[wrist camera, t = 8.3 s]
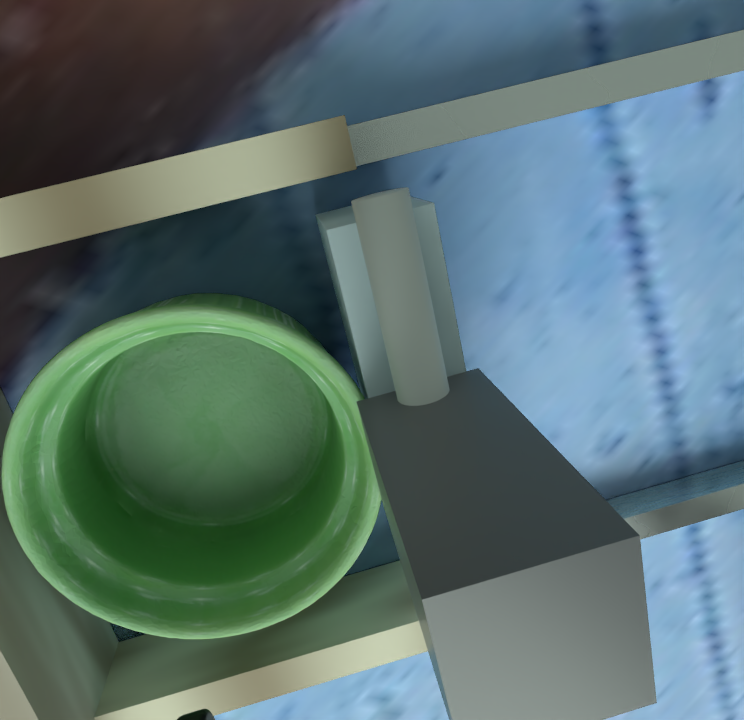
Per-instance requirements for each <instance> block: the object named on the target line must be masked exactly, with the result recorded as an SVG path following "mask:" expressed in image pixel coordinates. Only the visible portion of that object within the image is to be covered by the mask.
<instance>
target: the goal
mask: <svg viewBox="0 0 744 720" xmlns="http://www.w3.org/2000/svg"><path fill="white" fill-rule="evenodd" d="M743 70H744V30H741V31H737V32H733V33H728V34H724V35H720V36H716V37H712V38H708V39H704V40H700V41H695V42H691V43H687V44H683V45H679V46H675V47H671V48H667V49H663V50H658V51H654V52H650V53H646V54H642V55H638V56H634V57H630V58H625V59H621V60H617V61H613V62H609V63H605V64H601V65H597V66H593V67H588V68H584V69H580V70H576V71H572V72H568V73H564V74H560V75H555V76H551V77H547V78H543V79H539V80H535V81H531V82H527V83H523V84H518V85H514V86H510V87H506V88H502V89H498V90H494V91H490V92H485V93H481V94H477V95H473V96H469V97H465V98H461V99H457V100H453V101H448V102H444V103H440V104H436V105H432V106H428V107H424V108H420V109H415V110H411V111H407V112H403V113H399V114H395V115H391V116H387V117H383V118H378V119H374V120H370V121H366V122H362V123H358V124H354V125H350V126H347V124H346V119H345V115H343V116H339V117H335V118H331V119H326V120H322V121H318V122H314V123H310V124H306V125H302V126H297V127H293V128H289V129H285V130H281V131H277V132H273V133H268V134H264V135H260V136H256V137H252V138H248V139H244V140H239V141H235V142H231V143H227V144H223V145H219V146H215V147H211V148H206V149H202V150H198V151H194V152H190V153H186V154H182V155H177V156H173V157H169V158H165V159H161V160H157V161H153V162H148V163H144V164H140V165H136V166H132V167H128V168H124V169H119V170H115V171H111V172H107V173H103V174H99V175H95V176H90V177H86V178H82V179H78V180H74V181H70V182H66V183H62V184H57V185H53V186H49V187H45V188H41V189H37V190H33V191H28V192H24V193H20V194H16V195H12V196H8V197H4V198H0V257H4V256H8V255H12V254H17V253H21V252H25V251H29V250H33V249H37V248H41V247H45V246H49V245H53V244H57V243H61V242H65V241H69V240H73V239H77V238H81V237H85V236H89V235H93V234H97V233H101V232H105V231H109V230H113V229H117V228H121V227H126V226H130V225H134V224H138V223H142V222H146V221H150V220H154V219H158V218H162V217H166V216H170V215H174V214H178V213H182V212H186V211H190V210H194V209H198V208H202V207H206V206H210V205H214V204H218V203H222V202H226V201H230V200H235V199H239V198H243V197H247V196H251V195H255V194H259V193H263V192H267V191H271V190H275V189H279V188H283V187H287V186H291V185H295V184H299V183H303V182H307V181H311V180H315V179H319V178H323V177H327V176H331V175H335V174H339V173H344V172H348V171H352V170H356V169H357V167H356V166H359V165H363V164H367V163H371V162H375V161H379V160H383V159H387V158H391V157H395V156H399V155H404V154H408V153H412V152H416V151H420V150H424V149H428V148H432V147H436V146H440V145H444V144H448V143H452V142H456V141H460V140H464V139H468V138H472V137H476V136H480V135H484V134H488V133H492V132H497V131H501V130H505V129H509V128H513V127H517V126H521V125H525V124H529V123H533V122H537V121H541V120H545V119H549V118H553V117H557V116H561V115H565V114H569V113H573V112H577V111H581V110H585V109H589V108H594V107H598V106H602V105H606V104H610V103H614V102H618V101H622V100H626V99H630V98H634V97H638V96H642V95H646V94H650V93H654V92H658V91H662V90H666V89H670V88H674V87H678V86H682V85H686V84H691V83H695V82H699V81H703V80H707V79H711V78H715V77H719V76H723V75H727V74H731V73H735V72H739V71H743ZM12 416H13V414H12V411H11V409H10V407H9V405H8V403H7V401H6V399H5V396H4V394H3V392H2V390H1V388H0V720H177V719H178V718H179V717H180V716H182V715H184V714H188V713H191V712H194V711H198V710H201V709H208V710H210V712H211V713H212V714H213V716H214V715H218V714H221V713H224V712H228V711H231V710H234V709H238V708H241V707H244V706H247V705H251V704H254V703H257V702H261V701H264V700H267V699H271V698H274V697H277V696H281V695H284V694H287V693H291V692H294V691H297V690H301V689H304V688H307V687H310V686H314V685H317V684H320V683H324V682H327V681H330V680H334V679H337V678H340V677H344V676H347V675H350V674H354V673H357V672H360V671H364V670H367V669H370V668H374V667H377V666H380V665H383V664H387V663H390V662H393V661H397V660H400V659H403V658H407V657H410V656H413V655H417V654H420V653H423V652H427V651H428V649H427V646H426V643H425V639H424V636H423V633H422V630H421V626H420V623H419V620H418V617H417V613H416V610H415V607H414V604H413V600H412V597H411V594H410V591H409V587H408V584H407V581H406V578H405V575H404V571H403V568H402V565H401V562H400V560H399V561H396V562H392V563H389V564H386V565H382V566H379V567H375V568H372V569H368V570H365V571H362V572H358V573H355V574H351V575H348V576H344V577H342V578H341V579H340V580H339V581H338V582H337V583H336V584H335V585H334V586H333V587H332V588H331V589H330V590H329V591H328V592H327V593H325V594H324V595H323V596H322V597H320V598H319V599H318V600H317V601H315V602H314V603H312V604H311V605H310V606H308V607H307V608H305V609H303V610H302V611H300V612H298V613H297V614H295V615H293V616H291V617H289V618H287V619H285V620H283V621H280V622H278V623H275V624H273V625H270V626H268V627H265V628H262V629H260V630H256V631H252V632H248V633H244V634H240V635H235V636H229V637H222V638H213V639H179V638H167V637H161V636H155V635H150V634H145V635H141V636H138V637H135V638H131V639H128V640H124V641H121V642H118V639H117V637H116V635H115V633H114V631H113V629H112V627H111V624H110V622H108V621H106V620H104V619H102V618H100V617H98V616H95V615H93V614H91V613H90V612H88V611H86V610H85V609H83V608H81V607H80V606H78V605H76V604H75V603H73V602H72V601H71V600H69V599H68V598H67V597H65V596H64V595H63V594H62V593H60V592H59V591H58V590H57V589H56V588H54V587H53V586H52V585H51V584H50V583H49V582H48V581H47V580H46V579H45V578H44V577H43V576H42V575H41V574H40V573H39V572H38V571H37V569H36V568H35V566H34V565H33V564H32V562H31V561H30V559H29V558H28V557H27V555H26V554H25V552H24V551H23V549H22V547H21V545H20V543H19V542H18V540H17V538H16V535H15V533H14V531H13V529H12V526H11V523H10V521H9V518H8V515H7V511H6V507H5V502H4V497H3V490H2V456H3V448H4V443H5V438H6V434H7V431H8V427H9V424H10V421H11V418H12ZM606 501H607V502H608V503H609V504H610V505H611V506H612V507H613V508H614V509H615V510H616V511H617V512H618V514H619V515H620V516H621V517H622V518H623V519H624V520H625V521H626V522H627V523H628V524H629V525H630V526H631V527H632V528H633V529H634V530H635V531H636V532H637V533H638V534H639V535H640V539H643V538H647V537H650V536H653V535H657V534H660V533H663V532H667V531H670V530H674V529H677V528H680V527H684V526H687V525H690V524H694V523H697V522H701V521H704V520H707V519H711V518H714V517H717V516H721V515H724V514H728V513H731V512H734V511H738V510H741V509H744V460H743V461H740V462H736V463H733V464H729V465H726V466H723V467H719V468H716V469H712V470H709V471H705V472H702V473H698V474H695V475H692V476H688V477H685V478H681V479H678V480H674V481H671V482H668V483H664V484H661V485H657V486H654V487H650V488H647V489H643V490H640V491H637V492H633V493H630V494H626V495H623V496H619V497H616V498H613V499H609V500H606Z"/></svg>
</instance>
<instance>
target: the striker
mask: <svg viewBox="0 0 744 720" xmlns="http://www.w3.org/2000/svg"><path fill="white" fill-rule="evenodd" d="M351 204H352V205H351V206H348V207H344V208H340V209H336V210H332V211H328V212H324V213H320V214H316V219H317V223H318V227H319V231H320V235H321V239H322V243H323V246H324V250H325V254H326V258H327V262H328V266H329V270H330V274H331V278H332V282H333V286H334V290H335V293H336V297H337V301H338V305H339V309H340V313H341V317H342V321H343V325H344V329H345V333H346V336H347V340H348V344H349V348H350V352H351V356H352V360H353V364H354V368H355V372H356V376H357V379H358V383H359V387H360V391H361V393H362V394H363V396H364V398H365V399H364V400H360V401H357V406H358V410H359V414H360V418H361V421H362V425H363V429H364V433H365V437H366V441H367V444H368V448H369V452H370V456H371V460H372V464H373V468H374V471H375V475H376V479H377V483H378V487H379V491H380V495H381V498H382V502H383V506H384V510H385V513H386V516H387V519H388V523H389V526H390V529H391V532H392V536H393V539H394V542H395V545H396V549H397V552H398V555H399V558H400V562H401V565H402V568H403V571H404V575H405V578H406V581H407V584H408V587H409V591H410V594H411V597H412V600H413V604H414V607H415V610H416V613H417V617H418V620H419V623H420V626H421V630H422V633H423V636H424V639H425V643H426V646H427V649H428V652H429V655H430V659H431V662H432V665H433V668H434V672H435V675H436V678H437V681H438V685H439V688H440V691H441V694H442V698H443V701H444V704H445V707H446V711H447V714H448V717H449V720H604V719H607V718H610V717H613V716H616V715H619V714H623V713H626V712H629V711H632V710H635V709H639V708H642V707H645V706H648V705H651V704H654V703H657V702H656V692H655V682H654V672H653V662H652V652H651V643H650V633H649V623H648V613H647V603H646V593H645V583H644V573H643V563H642V554H641V544H640V535H639V534H638V533H637V532H636V531H635V530H634V529H633V528H632V527H631V526H630V525H629V524H628V523H627V522H626V521H625V520H624V519H623V518H622V517H621V516H620V515H619V514H618V512H617V511H616V510H615V509H614V508H613V507H612V506H611V505H610V504H609V503H608V502H607V501H606V500H605V499H604V498H603V497H602V496H601V495H600V494H599V493H598V492H597V491H596V490H595V489H594V488H593V487H592V486H591V485H590V483H589V482H588V481H587V480H586V479H585V478H584V477H583V476H582V475H581V474H580V473H579V472H578V471H577V470H576V469H575V468H574V467H573V466H572V465H571V464H570V463H569V462H568V461H567V460H566V459H565V458H564V457H563V456H562V454H561V453H560V452H559V451H558V450H557V449H556V448H555V447H554V446H553V445H552V444H551V443H550V442H549V441H548V440H547V439H546V438H545V437H544V436H543V435H542V434H541V433H540V432H539V431H538V430H537V429H536V428H535V427H534V425H533V424H532V423H531V422H530V421H529V420H528V419H527V418H526V417H525V416H524V415H523V414H522V413H521V412H520V411H519V410H518V409H517V408H516V407H515V406H514V405H513V404H512V403H511V402H510V401H509V400H508V399H507V398H506V396H505V395H504V394H503V393H502V392H501V391H500V390H499V389H498V388H497V387H496V386H495V385H494V384H493V383H492V382H491V381H490V380H489V379H488V378H487V377H486V376H485V375H484V374H483V373H482V372H481V371H480V370H479V369H474V370H470V371H467V372H466V368H465V363H464V357H463V352H462V347H461V342H460V336H459V331H458V326H457V321H456V316H455V310H454V305H453V300H452V295H451V290H450V284H449V279H448V274H447V269H446V263H445V258H444V253H443V248H442V243H441V237H440V232H439V227H438V222H437V216H436V211H435V206H434V203H432V202H429V201H425V200H421V199H418V198H414V197H411V196H410V192H409V188H407V187H405V188H397V189H392V190H387V191H382V192H378V193H374V194H370V195H367V196H363V197H360V198H357V199H354V200H352V201H351Z"/></svg>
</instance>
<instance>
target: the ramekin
mask: <svg viewBox="0 0 744 720" xmlns="http://www.w3.org/2000/svg"><path fill="white" fill-rule="evenodd" d="M364 399H365V398H364V396H363V394H362V393H361V391H360V389H359V388H358V386H357V385H356V383H355V382H354V381H353V379H352V378H351V377H350V375H349V374H348V373H347V372H346V371H345V370H344V368H343V367H342V366H341V365H340V364H339V363H338V362H337V361H336V360H335V359H334V358H333V357H332V356H331V355H330V354H329V353H328V352H327V351H326V350H325V349H324V348H323V346H322V345H321V343H320V342H319V341H318V340H317V339H316V338H315V337H314V336H312V335H311V333H310V332H309V331H308V330H307V329H306V328H305V327H304V326H303V325H301V324H300V323H299V322H297V321H296V320H295V319H293V318H292V317H291V316H289V315H287V314H285V313H284V312H282V311H280V310H278V309H276V308H274V307H271V306H269V305H266V304H264V303H261V302H259V301H256V300H254V299H249V298H245V297H241V296H237V295H229V294H220V293H196V294H189V295H182V296H177V297H173V298H170V299H167V300H164V301H159V302H156V303H154V304H152V305H150V306H148V307H145V308H143V309H141V310H138V311H136V312H134V313H131V314H127V315H124V316H121V317H119V318H116V319H113V320H111V321H108V322H106V323H104V324H102V325H100V326H98V327H96V328H94V329H92V330H90V331H89V332H87V333H85V334H84V335H82V336H80V337H79V338H78V339H76V340H75V341H73V342H72V343H70V344H69V345H68V346H66V347H65V348H64V349H62V350H61V351H60V352H59V353H57V354H56V355H55V356H54V357H53V358H52V359H51V360H50V361H49V362H48V363H47V364H46V365H45V366H44V367H43V368H42V369H41V370H40V371H39V373H38V374H37V375H36V376H35V377H34V379H33V380H32V381H31V383H30V384H29V386H28V387H27V389H26V390H25V392H24V393H23V395H22V397H21V399H20V401H19V402H18V404H17V407H16V409H15V411H14V413H13V416H12V418H11V421H10V424H9V427H8V431H7V434H6V438H5V443H4V448H3V456H2V490H3V497H4V502H5V507H6V511H7V515H8V518H9V521H10V523H11V526H12V529H13V531H14V533H15V535H16V538H17V540H18V542H19V543H20V545H21V547H22V549H23V551H24V552H25V554H26V555H27V557H28V558H29V559H30V561H31V562H32V564H33V565H34V566H35V568H36V569H37V571H38V572H39V573H40V574H41V575H42V576H43V577H44V578H45V579H46V580H47V581H48V582H49V583H50V584H51V585H52V586H53V587H54V588H56V589H57V590H58V591H59V592H60V593H62V594H63V595H64V596H65V597H67V598H68V599H69V600H71V601H72V602H73V603H75V604H76V605H78V606H80V607H81V608H83V609H85V610H86V611H88V612H90V613H91V614H93V615H95V616H98V617H100V618H102V619H104V620H106V621H108V622H110V623H113V624H116V625H119V626H122V627H124V628H127V629H131V630H134V631H138V632H142V633H146V634H150V635H155V636H161V637H167V638H179V639H213V638H222V637H229V636H235V635H240V634H244V633H248V632H252V631H256V630H260V629H262V628H265V627H268V626H270V625H273V624H275V623H278V622H280V621H283V620H285V619H287V618H289V617H291V616H293V615H295V614H297V613H298V612H300V611H302V610H303V609H305V608H307V607H308V606H310V605H311V604H312V603H314V602H315V601H317V600H318V599H319V598H320V597H322V596H323V595H324V594H325V593H327V592H328V591H329V590H330V589H331V588H332V587H333V586H334V585H335V584H336V583H337V582H338V581H339V580H340V579H341V578H342V577H343V576H344V575H345V574H346V573H347V571H348V570H349V569H350V568H351V566H352V565H353V564H354V562H355V561H356V559H357V558H358V556H359V555H360V553H361V551H362V550H363V548H364V546H365V544H366V542H367V540H368V538H369V536H370V534H371V532H372V530H373V527H374V524H375V522H376V519H377V516H378V512H379V508H380V504H381V500H382V498H381V495H380V491H379V487H378V483H377V479H376V475H375V471H374V468H373V464H372V460H371V456H370V452H369V448H368V444H367V441H366V437H365V433H364V429H363V425H362V421H361V418H360V414H359V410H358V406H357V401H360V400H364Z"/></svg>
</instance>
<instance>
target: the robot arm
mask: <svg viewBox="0 0 744 720" xmlns="http://www.w3.org/2000/svg"><path fill="white" fill-rule="evenodd" d="M177 720H215V719H214V716H213V714H212V713H211V712H210V710H208V709H201V710H198V711H194V712H191V713H188V714H184V715H182V716H180V717H179V718H178V719H177Z"/></svg>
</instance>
